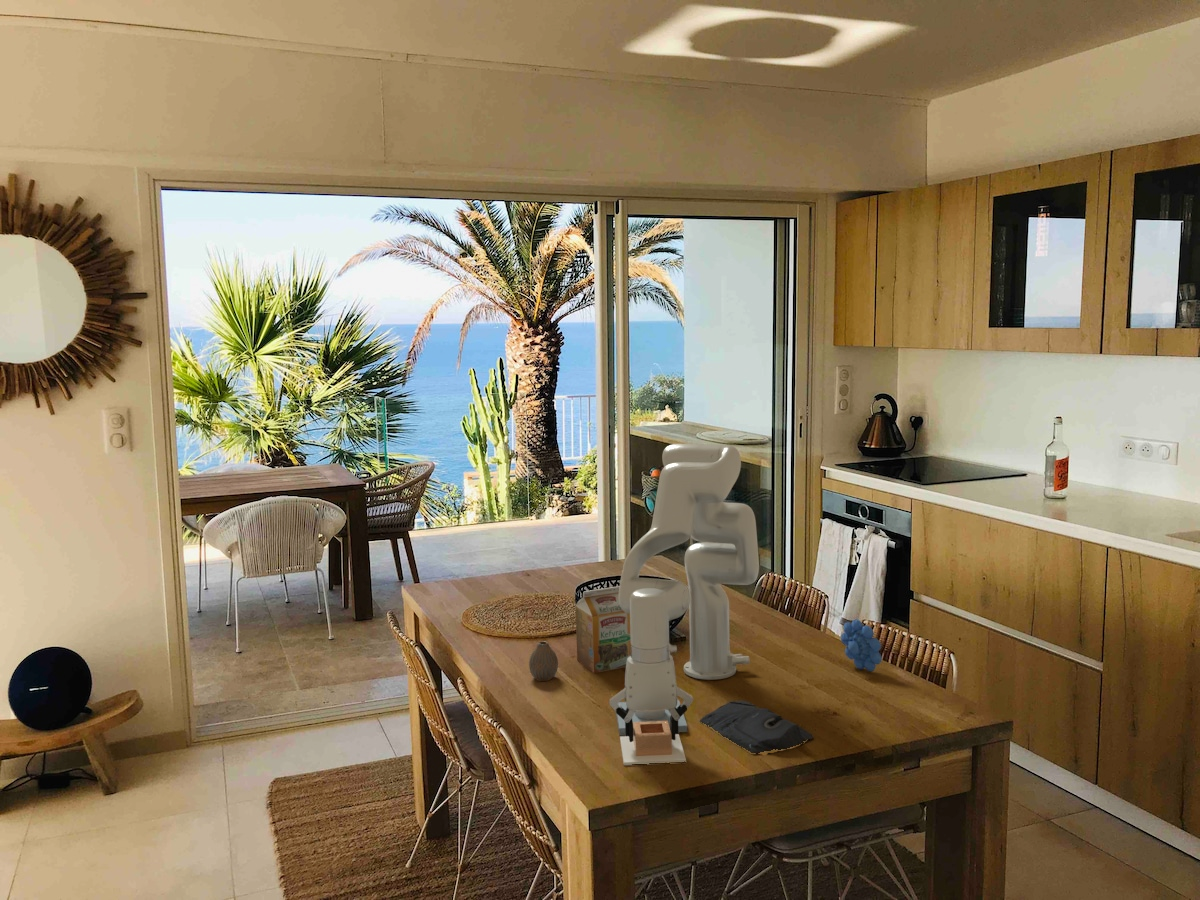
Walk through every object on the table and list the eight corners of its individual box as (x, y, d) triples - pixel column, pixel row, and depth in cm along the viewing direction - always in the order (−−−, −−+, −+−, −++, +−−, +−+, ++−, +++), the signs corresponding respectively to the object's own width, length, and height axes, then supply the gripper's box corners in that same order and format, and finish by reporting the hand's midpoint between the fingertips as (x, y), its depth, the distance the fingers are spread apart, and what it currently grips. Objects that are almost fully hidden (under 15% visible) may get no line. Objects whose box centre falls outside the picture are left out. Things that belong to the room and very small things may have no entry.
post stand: (679, 706, 218) (678, 656, 217) (687, 732, 205) (686, 678, 203) (615, 709, 218) (614, 658, 216) (619, 735, 204) (618, 681, 203)
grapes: (829, 667, 240) (829, 618, 239) (847, 660, 245) (848, 613, 243) (869, 679, 231) (869, 630, 230) (887, 673, 235) (887, 624, 234)
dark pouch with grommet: (751, 707, 218) (751, 686, 217) (819, 743, 199) (819, 720, 198) (693, 722, 211) (693, 701, 210) (758, 761, 192) (758, 737, 191)
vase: (554, 684, 234) (553, 648, 233) (526, 682, 236) (525, 646, 234) (561, 673, 241) (560, 638, 240) (534, 672, 242) (532, 637, 241)
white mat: (678, 736, 203) (678, 734, 202) (686, 762, 191) (686, 759, 191) (620, 739, 202) (619, 736, 202) (623, 765, 190) (623, 762, 190)
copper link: (667, 739, 200) (667, 720, 199) (671, 754, 193) (671, 734, 193) (633, 741, 200) (632, 722, 199) (636, 756, 193) (635, 736, 192)
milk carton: (594, 673, 241) (591, 596, 238) (577, 660, 250) (574, 586, 248) (633, 665, 245) (631, 591, 243) (615, 653, 255) (613, 581, 252)
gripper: (691, 644, 198) (693, 728, 200) (604, 647, 197) (607, 732, 200) (697, 657, 190) (698, 744, 193) (606, 660, 190) (608, 748, 192)
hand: (651, 737), depth 196 cm, fingers open, 7 cm apart
